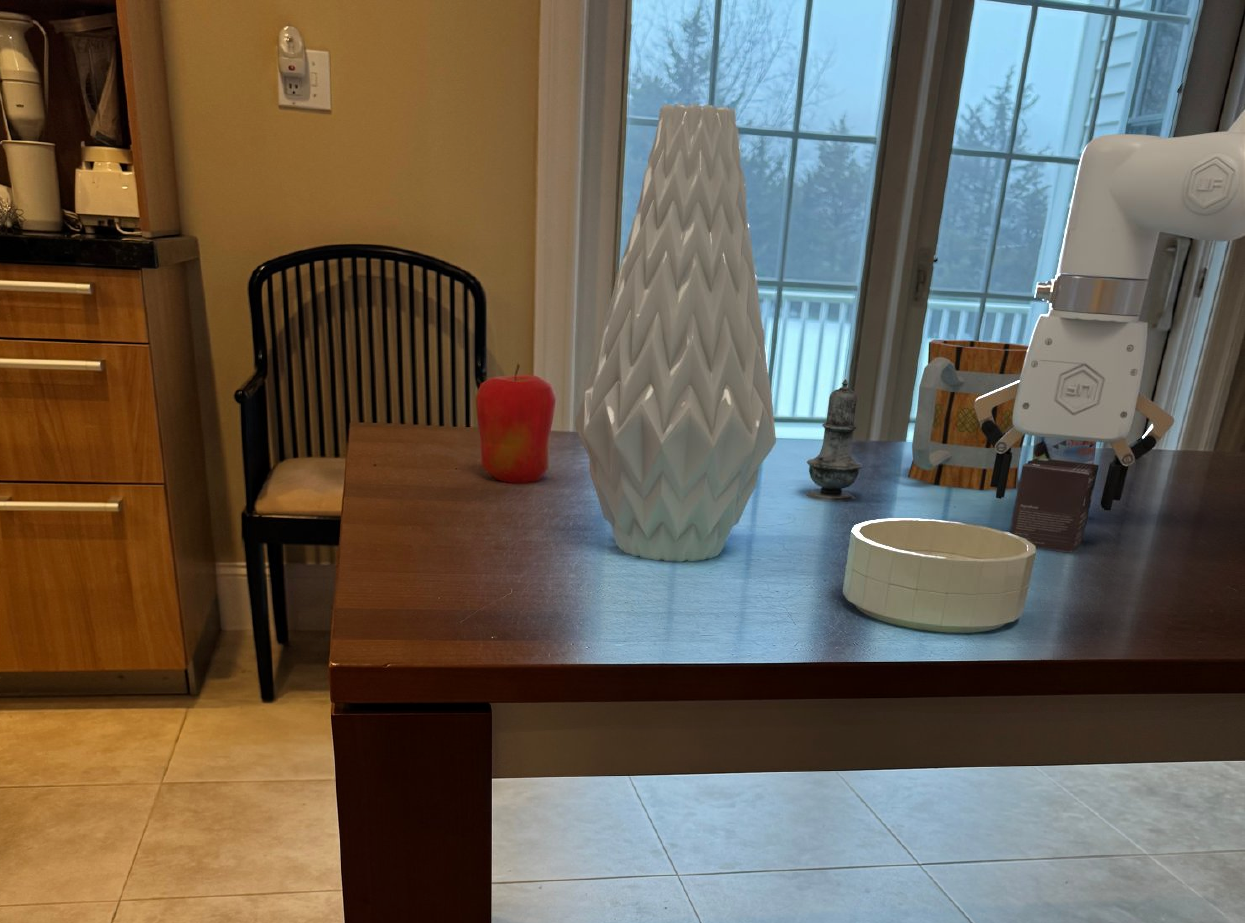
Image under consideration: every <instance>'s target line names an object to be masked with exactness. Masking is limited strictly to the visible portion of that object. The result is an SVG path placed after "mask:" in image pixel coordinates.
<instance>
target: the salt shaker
mask: <svg viewBox="0 0 1245 923" xmlns="http://www.w3.org/2000/svg"><path fill="white" fill-rule="evenodd" d="M841 385H842V386H841V387H839V388H838V389H835V390H833V391H831V393H830V394H829V397H828V405H827V413H826V421H825V422H824V423H822V427H823V428H824V431H823V432H824V433H823V438H822V446H821V448H820V451H819V454H818V455H817V456H815V457H814V458H810V459H808V460H807V461H806V463H807V465H808V466H809V468H808V472H809V477H810V480H811V481H812V482H813V483H814V484H815V485H816V486H818V487H820V488H815V489H811V490H810V491H808V492H806V494H805V496H806V497H808V498H810V499H814V500H820V501H827V502H852V501H854V500H856V497H855V496H854V495H853V494H851V492H849V491H846V490H843V489H846V488H849V487H850V486H852V485H853V484H854V483H855V481H856V479H857V478H858V476H859V471H860V469H862V468H863V464H862V463H860V462H858V461H856V460H855V458H854V457H853V452H852V444H853V437H854V431H855V430H857V428H858V427H857V426H856V425H855V424H854V423H855V417H856V409H857V401H858V397H857V394H856V393H855V392H854V391H853V390H851V389H850V388H849V387H848V385H849V383H848V380H847V379H846V378H845V379H844V380H842V382H841Z"/></svg>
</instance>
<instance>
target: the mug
mask: <svg viewBox="0 0 1245 923" xmlns="http://www.w3.org/2000/svg"><path fill="white" fill-rule="evenodd" d="M1028 347H1029V345H1026V344H1018V343H1009V342H997V341H996V342H995V341H984V340H983V341H982V340H970V339H969V340H967V339H933V340H931V341H929V342H928V353H927V355H928V356H927V365H925V367H924V368H923V372H922V376H921V379H920V383H919V385H918V386H919V387H918V395H917V404H916V405H917V406H916V408H917V409H916V415H915V421H914V426H913V428H914V429H913V436H912V444H911V452H912V461H911V463H910V468H909V472H908V475H907V477H908V478H910V479H914V480H917V481H920V482H923V483H927V484H930V485H933V486H938V487H939V486H940V487H948V488H957V489H967V490H976V491H977V490H978V491H991V490H995V491H996V490H997V488H996V487H990V484H991V478H992V473H993V468H994V463H995V458H996V453H997V452H996V451H995V448H994V447H993V446H992V444H991V443H990V442H989V440H988V439H987V437H986V436H985V435H984V433H983V432H982V429H981V426H980V423H979V420H978V417H977V414H976V411H975V408H974V402H975V400H976V399H977V398H979V397H981V396H984V395H986V394H988V393H991V392H993V391H995V390H998V389H1000V388H1003V387H1005V386H1007V385H1010V384H1012V383H1015V382H1017V381H1019V380H1020V376H1021V372H1022V369H1023V365H1024V361H1025V357H1026V353H1027V350H1028ZM1014 403H1015V398H1014V399H1012V400H1009V401H1007V402H1005V403H1002V404H1000V405H997V406H995V407H993V409H992V410H991V412H992V416H993V419H994V422H995V423H996V424H997V426H998V427H999V429H1000V430H1001V431H1002V433H1004V432H1005V431H1006V430H1007V429H1008V428H1009V427H1010V426H1011V425H1012V424H1013V421H1012V418H1013V409H1014ZM1025 437H1026V434H1025V435H1024V436H1023V437H1022V438H1021V439H1019V440H1018V441H1017V442H1016V443H1015V444H1014V445H1013V446H1012V448H1011V452H1012V460H1011V465H1010V470H1009V475H1008V480H1007V485H1006V490H1012V489H1016V488H1017V486H1018V483H1019V473H1020V472H1019V471H1020V461H1021V460H1020V459H1021V456H1022V450H1023V445H1024V440H1025Z"/></svg>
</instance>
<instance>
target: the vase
mask: <svg viewBox="0 0 1245 923" xmlns="http://www.w3.org/2000/svg"><path fill="white" fill-rule="evenodd" d="M739 135H740V134H739V128H738V126H737V123H736V110H735V108H732V107H731V108H730V107H729V108H728V107H727V106H718V107H716V106H714V105H713V104H707V105H703V106H702V105H699V104H696V103H691V104H689V105H685V104H682V103H676V104H674V105H672V104H664V105H661V106H660V109H659V114H658V121H657V127H656V133H655V135H654V136H655V137H654V141H653V144H652V147H651V150H650V153H649V156H648V160H647V166H646V169H645V171H644V175H643V178H642V179H643V180H642V185H641V190H640V196H639V200H638V204H637V207H636V212H635V216H634V217H633V220H632V224H631V229H630V233H629V236H628V239H627V242H626V246H625V249H624V252H623V254H622V257H621V262H620V266H619V268H618V271H617V274H616V278H615V283H614V287H613V291H612V295H611V299H610V303H609V307H608V310H607V311H606V312H607V313H606V316H605V319H604V324H603V327H602V336H601V338H600V340H599V341H600V342H599V344H598V347H597V350H596V353H595V356H594V359H593V362H592V365H591V367H590V371H589V373H588V376H587V379H586V382H585V383H586V384H585V387H584V394H583V396H582V399H581V402H580V405H579V408H578V412H577V415H576V418H575V425H574V426H575V431H576V432H577V435H578V437H579V439H580V442H581V443H582V445H583V447H584V450H585V452H586V454H587V456H588V460H589V475H590V478H591V481H592V483H593V486H594V489H595V493H596V495H597V496H596V497H597V498H598V502H599V506H600V508H601V512H602V516H603V519H604V520H605V521H607V522H608V523H609V524H610V527H611V532H612V535H613V538H614V540H615V544H616V546H617V547H618V548H619V549H620V551H622V552H624V553H625V554H627V555H631V556H633V557H640V558H641V559H646V560H647V559H648V560H653V561H664V562H678V563H682V562H697V561H705V560H711V559H713V558H716V557H718V556H719V555H720V554H721V553H722V551H723V549H724V547H725V545H726V542H727V539H728V538H729V536H730V533H731V530H732V529H733V527H734V526H736V525H737V524H739V522H740V521H741V518H742V515H743V514H744V511H745V510H746V506H747V504H748V502H749V500H750V499H751V496H752V494H753V492H754V491H755V489H756V486H757V482H758V476H759V469H760V468H761V466H762V464H763V462H765V460H766V458H767V457H768V456H769V454H770V453H771V452H772V450H773V448H774V447H775V446H776V443H777V436H776V435H777V434H776V427H775V426H776V425H775V416H774V405H773V393H772V388H771V382H770V376H769V367H768V360H767V359H768V358H767V348H766V343H765V340H766V339H765V338H766V337H765V327H764V323H763V320H762V313H761V304H760V296H759V286H758V279H757V274H756V266H755V262H754V254H753V247H752V239H751V233H750V224H749V221H748V212H747V187H746V186H747V185H746V177H745V174H744V171H743V168H742V160H741V159H742V158H741V148H740V147H741V146H740V139H739V138H740V136H739Z"/></svg>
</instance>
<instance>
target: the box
mask: <svg viewBox="0 0 1245 923" xmlns="http://www.w3.org/2000/svg"><path fill="white" fill-rule="evenodd" d="M1099 467H1100V465H1099V464H1095V463H1094V464H1086V463H1078V462H1069V461H1061V460H1052V459H1041V458H1036V459H1034V460H1028V461H1027V463H1025V464H1023V465H1022V466H1021V473H1020V478H1019V480H1018V485H1017V486H1018V487H1017V492H1016V496H1015V502H1014V506H1013V512H1012V517H1011V522H1010V527H1009V532H1008V533H1011V534H1014V535H1016V536H1019V537H1022V538H1024V539H1026V540H1028V541H1029V542H1031V543H1032V544H1033V545H1035V547H1036V549H1039V550H1047V551H1054V552H1059V553H1066V554H1067V553H1068V554H1071V553H1073V552H1074V551H1075V550H1077V549H1078V548H1079V546H1081V544H1082V543H1083V541H1084V536H1085V530H1086V526H1087V521H1088V517H1089V514H1090V508H1091V503H1092V499H1093V494H1094V490H1095V486H1096V480H1097V476H1098V472H1099Z"/></svg>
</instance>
